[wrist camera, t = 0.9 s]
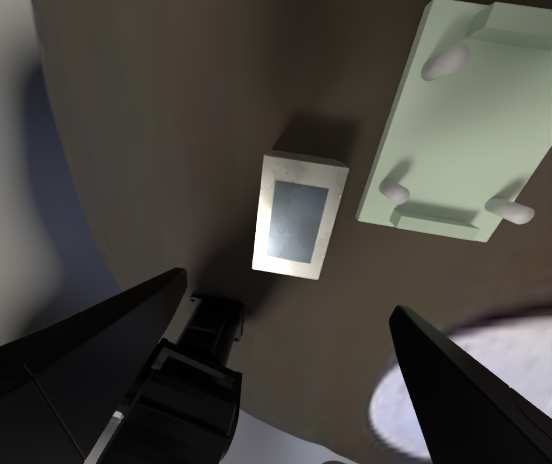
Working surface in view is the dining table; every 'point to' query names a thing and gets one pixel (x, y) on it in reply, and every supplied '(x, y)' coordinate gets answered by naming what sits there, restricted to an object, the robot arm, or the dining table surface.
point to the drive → (296, 212)
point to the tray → (465, 122)
